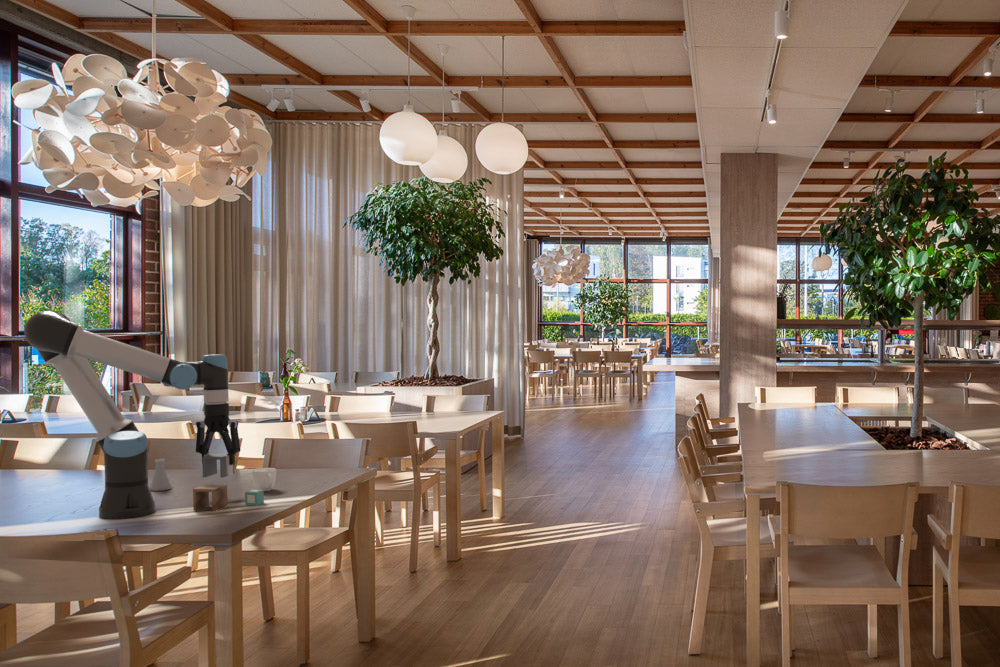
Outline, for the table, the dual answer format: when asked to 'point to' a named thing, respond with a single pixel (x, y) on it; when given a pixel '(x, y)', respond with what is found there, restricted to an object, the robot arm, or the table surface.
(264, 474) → the cup
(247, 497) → the letter cube
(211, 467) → the box
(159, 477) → the flask
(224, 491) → the cover walnut
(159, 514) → the table surface
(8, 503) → the table surface
